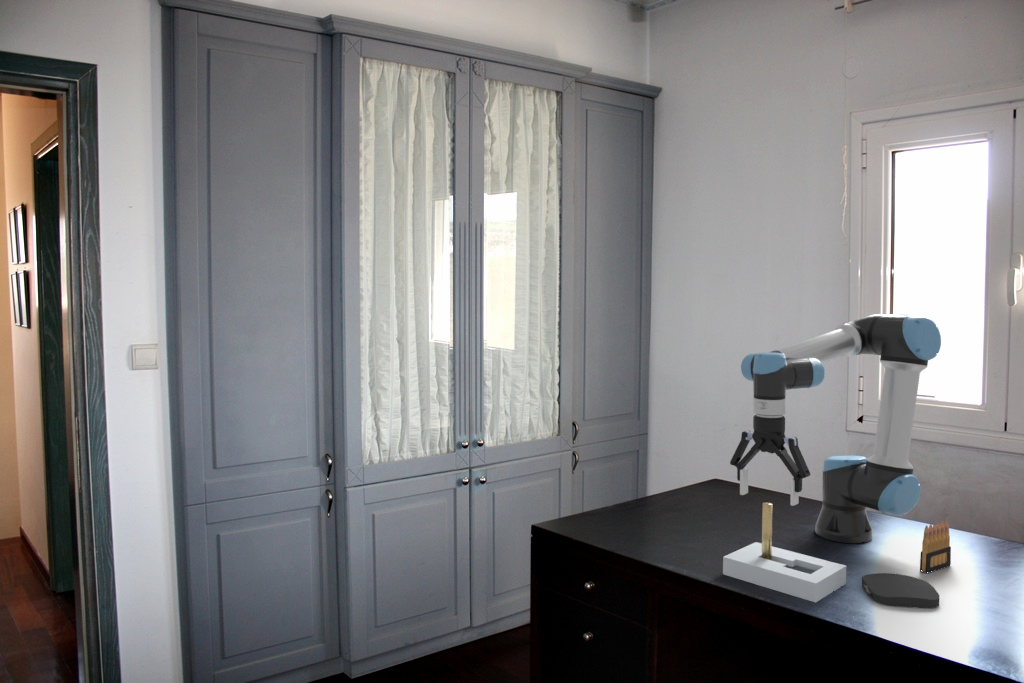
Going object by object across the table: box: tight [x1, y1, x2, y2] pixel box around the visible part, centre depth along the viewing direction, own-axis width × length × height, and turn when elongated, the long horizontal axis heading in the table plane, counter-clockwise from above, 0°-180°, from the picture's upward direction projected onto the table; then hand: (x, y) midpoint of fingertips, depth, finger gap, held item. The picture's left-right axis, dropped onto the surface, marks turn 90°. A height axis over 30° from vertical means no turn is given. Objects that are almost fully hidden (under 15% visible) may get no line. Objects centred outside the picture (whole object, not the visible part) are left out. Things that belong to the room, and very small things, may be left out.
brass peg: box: [761, 501, 774, 560], centre depth 192 cm, size 5×5×18 cm
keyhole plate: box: [722, 541, 847, 603], centre depth 189 cm, size 24×16×4 cm, turn 43°
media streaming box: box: [861, 572, 940, 609], centre depth 179 cm, size 15×15×3 cm
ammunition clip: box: [919, 519, 952, 574], centre depth 195 cm, size 11×2×12 cm, turn 121°
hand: (768, 499), depth 191 cm, fingers open, 13 cm apart
